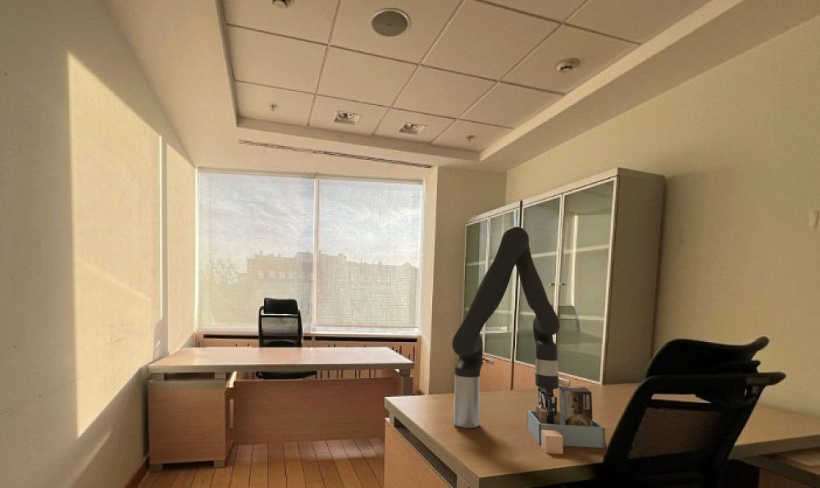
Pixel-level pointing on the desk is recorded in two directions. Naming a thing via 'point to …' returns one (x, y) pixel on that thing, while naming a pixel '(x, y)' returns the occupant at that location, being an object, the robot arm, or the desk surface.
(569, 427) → the tote
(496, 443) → the desk surface
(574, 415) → the coffee box
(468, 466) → the desk surface
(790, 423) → the desk surface
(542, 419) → the block
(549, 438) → the cube
